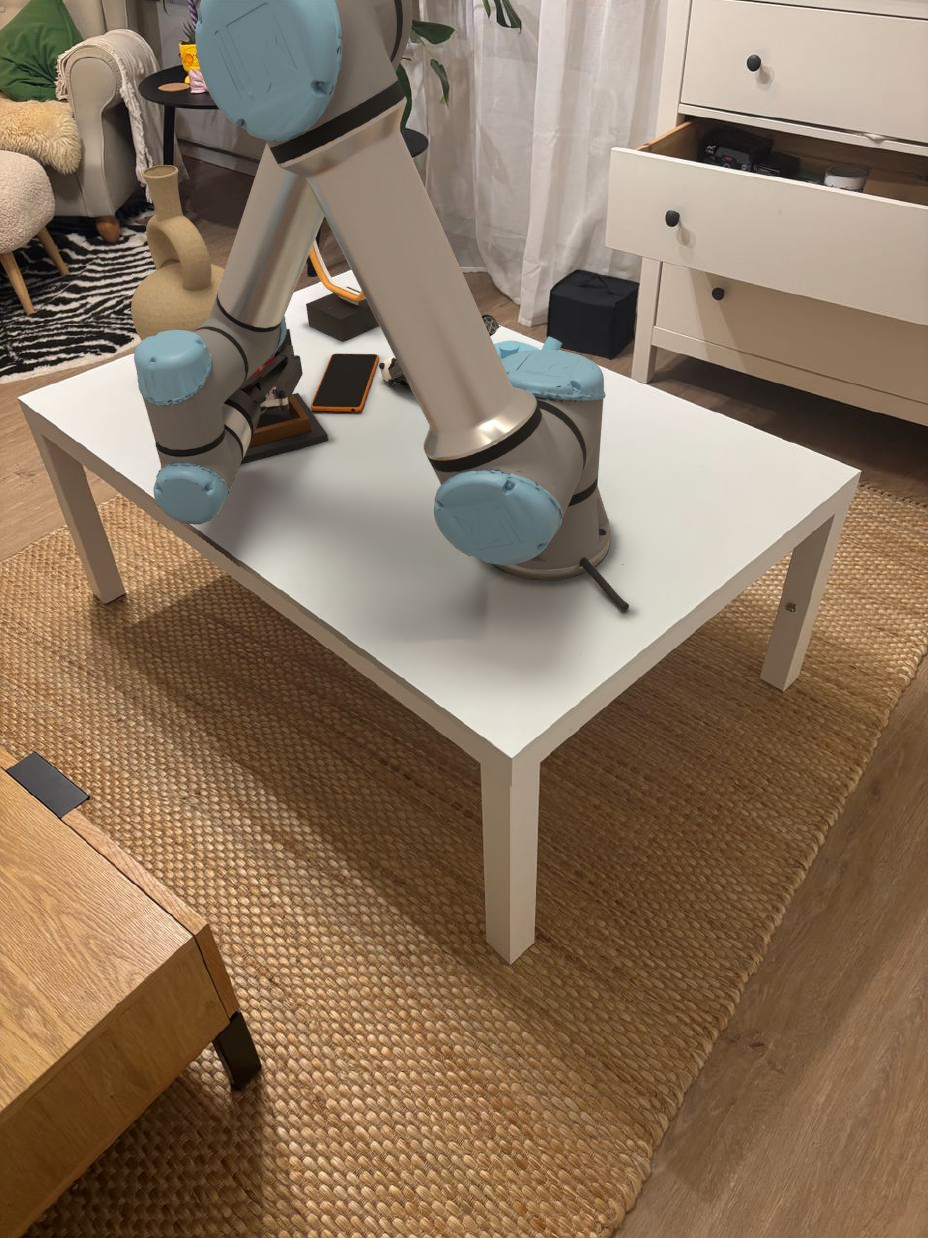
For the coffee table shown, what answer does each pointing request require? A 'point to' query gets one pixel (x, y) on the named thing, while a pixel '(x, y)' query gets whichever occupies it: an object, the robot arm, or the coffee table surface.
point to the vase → (173, 265)
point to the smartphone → (345, 382)
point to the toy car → (393, 371)
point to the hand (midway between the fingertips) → (263, 338)
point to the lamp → (338, 306)
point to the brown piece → (284, 430)
